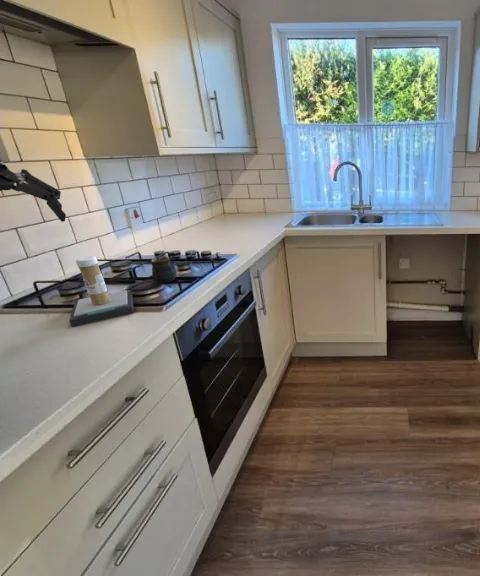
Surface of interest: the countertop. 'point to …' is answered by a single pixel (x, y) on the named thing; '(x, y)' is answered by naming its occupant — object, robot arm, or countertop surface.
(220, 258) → the countertop surface
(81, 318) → the scale
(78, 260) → the sprinkles bottle
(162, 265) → the mate gourd
